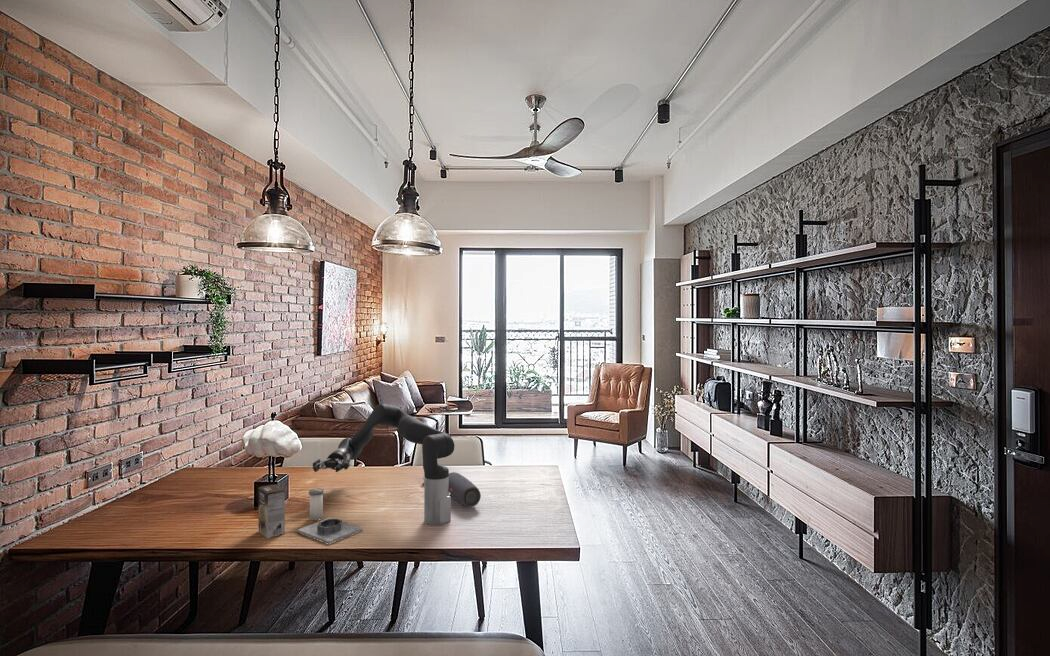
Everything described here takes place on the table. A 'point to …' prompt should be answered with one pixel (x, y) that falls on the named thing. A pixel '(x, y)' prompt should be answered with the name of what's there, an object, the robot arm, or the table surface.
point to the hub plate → (329, 536)
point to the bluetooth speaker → (463, 490)
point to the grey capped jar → (316, 503)
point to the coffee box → (271, 510)
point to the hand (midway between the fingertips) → (325, 469)
